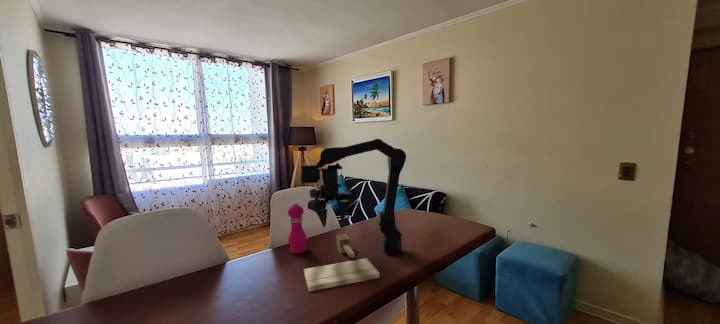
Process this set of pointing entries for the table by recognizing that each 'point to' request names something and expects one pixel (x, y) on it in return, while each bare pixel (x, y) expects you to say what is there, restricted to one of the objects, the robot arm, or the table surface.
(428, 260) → the table surface
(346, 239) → the wooden mallet
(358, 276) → the board
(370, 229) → the table surface
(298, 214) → the pepper mill
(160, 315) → the table surface
